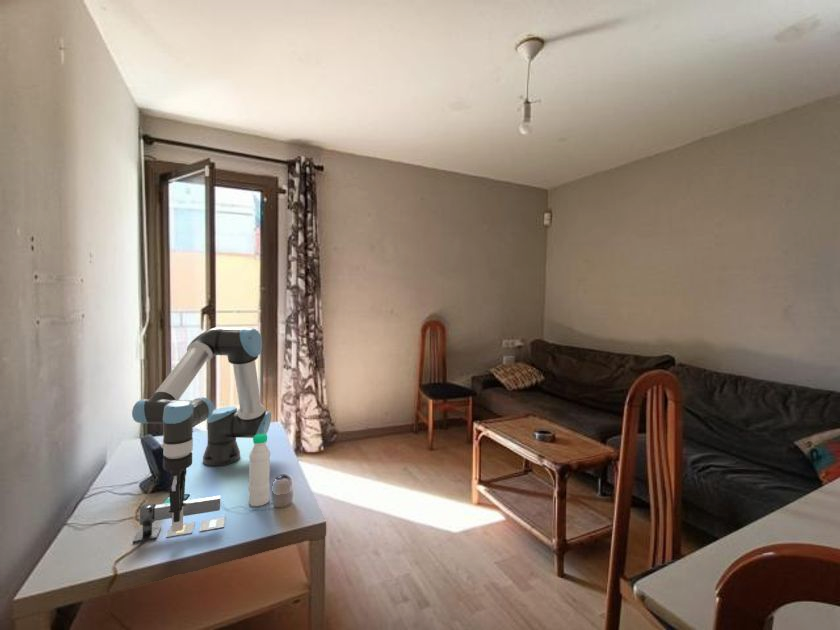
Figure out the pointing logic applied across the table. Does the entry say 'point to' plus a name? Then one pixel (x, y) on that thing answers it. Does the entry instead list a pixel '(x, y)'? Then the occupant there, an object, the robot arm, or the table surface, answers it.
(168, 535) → the label plate ochre
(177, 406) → the robot arm
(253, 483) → the water bottle
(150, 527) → the dark grey square block
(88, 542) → the table surface
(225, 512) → the table surface
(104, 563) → the table surface
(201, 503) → the rail
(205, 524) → the label plate dark grey
